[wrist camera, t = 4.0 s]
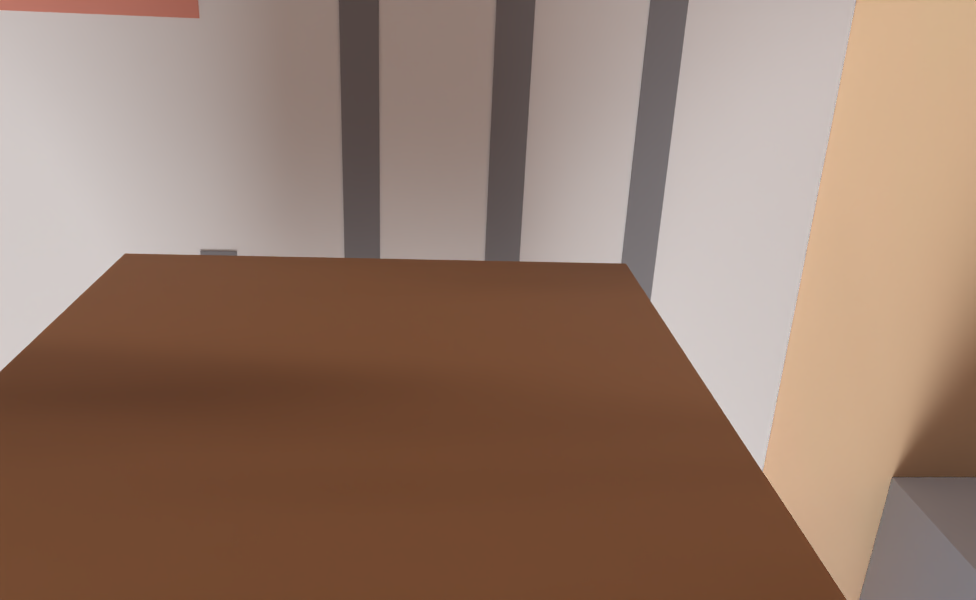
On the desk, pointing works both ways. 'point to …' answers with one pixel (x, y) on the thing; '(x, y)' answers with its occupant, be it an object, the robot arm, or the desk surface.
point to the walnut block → (378, 441)
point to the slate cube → (925, 541)
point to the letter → (431, 148)
